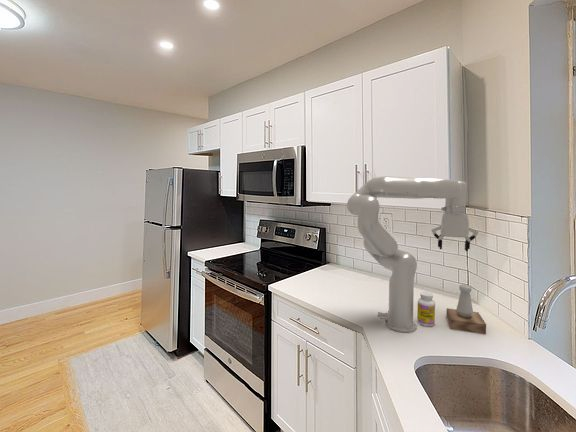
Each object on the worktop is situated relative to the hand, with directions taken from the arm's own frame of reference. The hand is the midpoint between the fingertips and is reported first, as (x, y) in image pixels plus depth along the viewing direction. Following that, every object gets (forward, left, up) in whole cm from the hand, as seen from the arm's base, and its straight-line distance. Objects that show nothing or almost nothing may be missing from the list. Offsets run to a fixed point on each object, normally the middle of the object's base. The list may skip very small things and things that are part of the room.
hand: (453, 249), depth 120 cm
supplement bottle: (-11, -9, -31) cm, 34 cm away
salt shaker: (+4, -5, -27) cm, 28 cm away
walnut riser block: (+4, -5, -31) cm, 32 cm away
